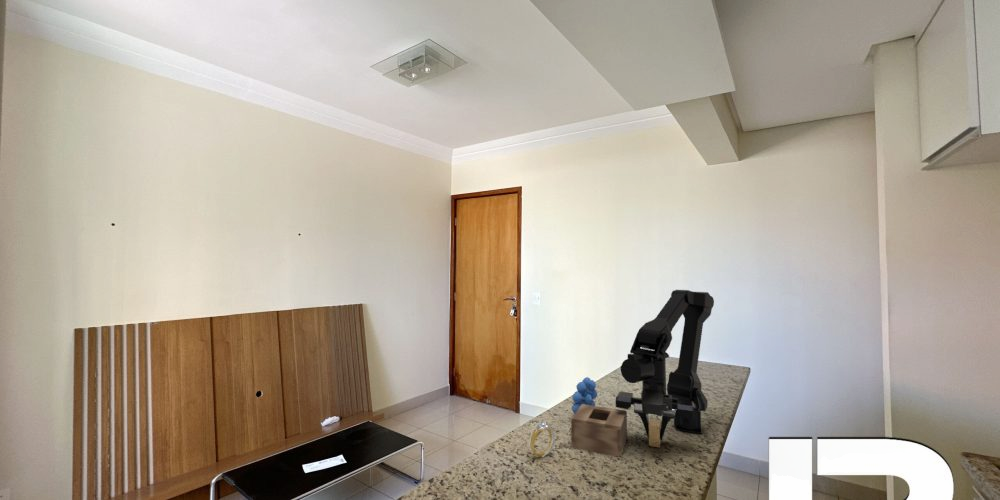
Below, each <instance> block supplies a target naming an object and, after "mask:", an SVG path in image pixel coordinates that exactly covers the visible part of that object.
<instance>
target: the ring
mask: <svg viewBox="0 0 1000 500" xmlns="http://www.w3.org/2000/svg"><path fill="white" fill-rule="evenodd" d="M544 430H546V431H547V432H548V435H549V444H548V447H547V448H546V449H545V450H544V451H543V450H542V451H539V452H537V451H536V449H535V442H536V440H537V438H538V437H539V436H540V434H541V433H542V432H543V431H544ZM555 440H556V435H555V430H554V429H553V426H550V425H548V422H547V421H545V422H544V423H543V422H542V421H541V420H540V421H538V422H537V423H536V424H535V425H534V427H532V429H531V432H530V435H529V441H528V442H529V443H528V445H529V449H530V451H531V453H532V454H533V455H534V456H536V457H538V458H545V457H546V456H547V455H549V454H550V452H551V451H552V450H553V447H554V446H555Z"/></svg>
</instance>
